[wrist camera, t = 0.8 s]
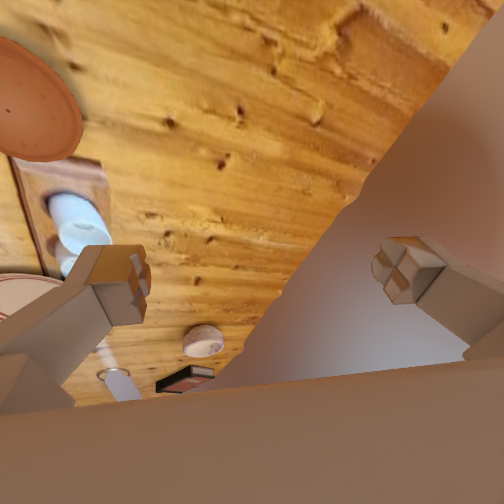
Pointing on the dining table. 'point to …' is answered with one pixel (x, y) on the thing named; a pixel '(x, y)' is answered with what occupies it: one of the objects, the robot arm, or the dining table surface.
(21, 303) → the dinner plate
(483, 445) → the robot arm
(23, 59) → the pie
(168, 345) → the dining table surface
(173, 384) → the book
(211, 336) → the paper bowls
